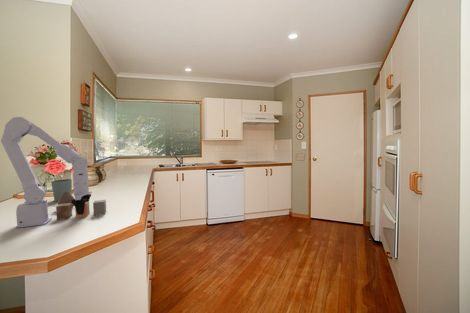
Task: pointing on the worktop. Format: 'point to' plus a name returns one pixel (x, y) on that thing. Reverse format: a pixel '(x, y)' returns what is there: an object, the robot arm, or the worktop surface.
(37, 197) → the robot arm
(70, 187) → the teal plant pot
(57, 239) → the worktop surface
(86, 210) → the terracotta block
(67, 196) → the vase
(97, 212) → the charcoal block
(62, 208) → the walnut block
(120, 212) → the worktop surface
